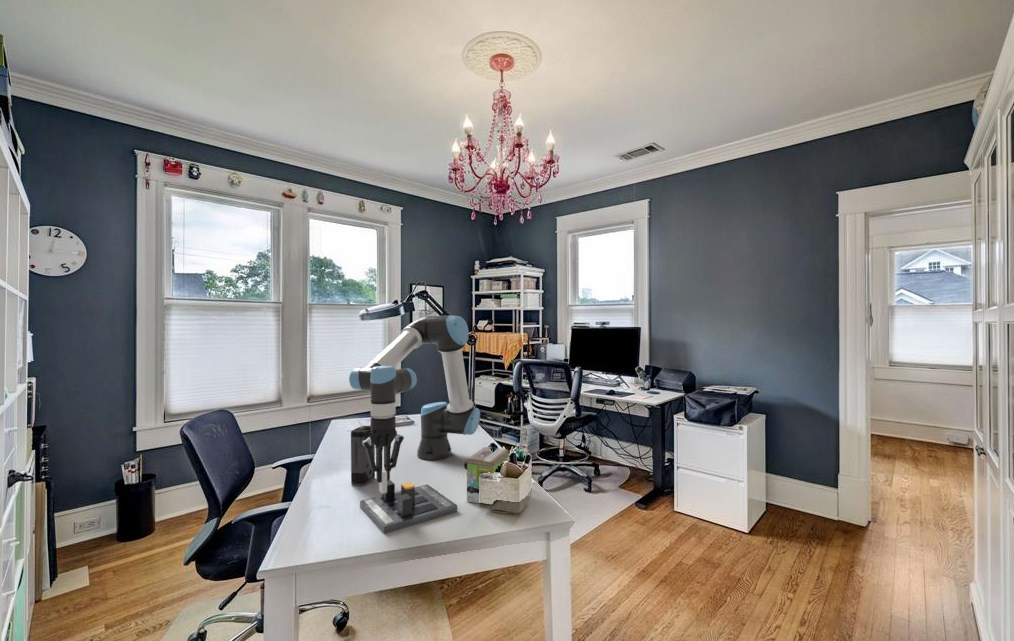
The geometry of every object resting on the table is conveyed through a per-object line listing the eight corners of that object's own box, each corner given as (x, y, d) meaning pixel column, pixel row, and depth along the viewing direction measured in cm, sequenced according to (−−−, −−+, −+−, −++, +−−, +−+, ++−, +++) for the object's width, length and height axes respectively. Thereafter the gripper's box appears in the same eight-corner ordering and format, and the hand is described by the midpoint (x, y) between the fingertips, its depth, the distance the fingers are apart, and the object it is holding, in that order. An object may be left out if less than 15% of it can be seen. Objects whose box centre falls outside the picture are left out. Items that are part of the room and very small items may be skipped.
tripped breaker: (409, 499, 145) (409, 482, 145) (414, 503, 142) (414, 485, 142) (401, 501, 143) (401, 484, 143) (406, 505, 140) (405, 487, 140)
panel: (427, 489, 159) (427, 469, 159) (457, 511, 141) (457, 488, 141) (360, 506, 145) (359, 484, 145) (383, 533, 127) (383, 508, 127)
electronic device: (364, 486, 162) (363, 432, 162) (349, 485, 163) (348, 431, 163) (376, 477, 171) (376, 425, 171) (362, 476, 172) (362, 425, 172)
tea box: (493, 506, 145) (493, 461, 145) (465, 502, 148) (465, 458, 148) (509, 489, 159) (509, 448, 159) (483, 485, 162) (483, 445, 162)
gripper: (398, 411, 145) (398, 483, 144) (358, 416, 137) (358, 492, 137) (407, 415, 138) (407, 490, 138) (366, 420, 131) (366, 500, 131)
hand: (383, 491), depth 138 cm, fingers closed
